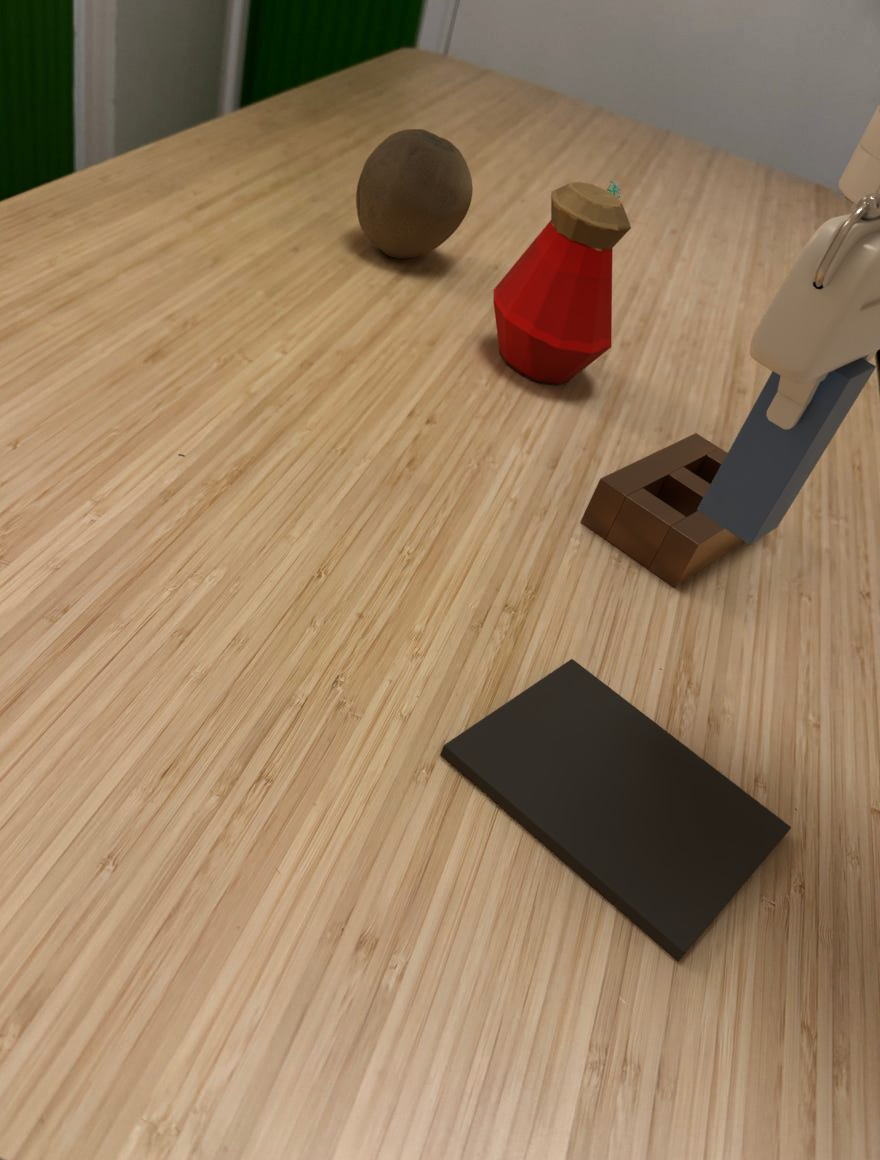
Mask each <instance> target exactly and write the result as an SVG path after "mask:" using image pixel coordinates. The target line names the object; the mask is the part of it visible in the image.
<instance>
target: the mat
mask: <svg viewBox="0 0 880 1160" xmlns="http://www.w3.org/2000/svg"><path fill="white" fill-rule="evenodd" d="M439 754H440V756H441V757H443V759H444V760H446V761H447V762H448V763H449V764H450V765H452V766H453V767H454V768H455V769H456V770H457V771H459V772H460V773H461V774H462V775H463V776H464V777H465V778H466V779H468V780H469V781H470V782H471V783H472V784H473V785H475V786H476V787H477V788H478V789H479V790H480V791H482V793H484V794H485V795H486V796H487V797H488V798H490V799H491V800H492V801H493V802H494V803H495V804H497V806H499V807H500V808H501V809H502V810H503V811H505V813H506V814H508V815H509V816H510V817H511V818H513V819H514V820H515V821H516V822H517V823H518V824H520V825H521V826H522V827H523V828H524V829H525V830H526V831H527V832H529V833H530V834H531V835H532V836H534V837H535V838H536V839H537V840H538V841H539V842H540V843H541V844H543V845H544V846H545V847H546V848H547V850H549V851H551V853H553V854H554V855H555V856H556V857H557V858H559V860H561V861H562V862H563V863H564V864H566V865H567V867H569V868H570V869H571V870H573V871H574V872H575V873H576V874H577V875H578V876H579V877H580V878H582V879H583V880H584V881H585V882H586V883H587V884H588V885H589V886H591V888H593V889H594V890H595V891H597V892H598V893H599V894H600V895H601V896H602V897H603V898H605V899H606V900H607V901H608V902H609V903H610V904H612V905H613V906H614V907H615V908H616V909H617V910H619V911H620V912H621V913H622V914H623V915H624V916H626V917H627V918H628V919H629V920H630V921H631V922H632V923H633V924H634V925H636V926H637V927H638V928H639V929H641V931H642V932H644V933H645V934H646V935H647V936H648V937H650V938H651V939H652V940H653V941H654V942H655V943H657V944H658V945H659V946H660V947H661V948H662V949H663V950H664V951H666V952H667V953H668V954H669V955H670V956H671V957H672V958H674V959H675V960H676V961H677V962H679V961H681V959H682V958H683V957H684V956H685V955H686V954H687V953H688V951H689V950H690V949H691V948H692V947H693V945H694V944H695V943H696V942H697V940H698V939H700V937H701V935H703V933H705V931H706V930H707V929H708V927H709V926H710V925H711V924H712V923H713V922H714V920H716V918H717V917H718V915H719V914H720V913H721V912H722V911H723V910H724V908H725V907H726V906H727V905H728V904H729V903H730V902H731V901H732V899H733V898H734V897H735V895H736V894H737V893H738V892H739V891H740V890H741V888H742V887H743V886H744V885H745V884H746V882H748V880H749V879H750V878H751V876H752V875H753V874H754V873H755V872H756V870H758V869H759V867H760V866H761V865H762V863H764V861H765V860H766V859H767V858H768V856H769V855H770V854H771V853H772V851H774V849H776V847H777V846H778V845H779V843H780V842H781V841H782V840H783V839H784V837H786V835H787V834H788V832H789V831H790V830H791V829H792V826H790V825H789V824H788V823H787V822H785V821H784V820H782V818H781V817H779V816H777V815H776V814H775V813H774V812H773V811H771V810H770V809H768V808H767V807H766V806H765V805H763V804H762V803H760V802H759V801H758V800H757V799H755V798H754V797H753V796H751V795H750V794H749V793H747V792H746V791H745V790H744V789H743V788H741V787H740V786H739V785H737V784H736V783H734V782H733V781H732V780H731V779H729V778H728V777H727V776H726V775H724V774H723V773H722V772H720V771H719V770H717V769H716V768H715V767H714V766H712V765H711V764H710V763H709V762H707V761H706V760H705V759H703V758H702V757H701V756H700V755H698V754H697V753H696V752H694V751H693V750H691V749H690V748H689V747H688V746H687V745H685V744H684V743H683V742H682V741H680V740H679V739H678V738H676V737H675V736H674V735H672V734H671V733H670V732H668V731H667V730H666V729H664V728H663V727H662V726H660V725H659V724H658V723H656V722H655V721H654V720H652V719H651V718H650V717H649V716H648V715H646V714H645V713H643V712H642V711H641V710H640V709H638V708H637V707H636V706H634V705H633V704H631V702H629V701H628V700H627V699H625V698H624V697H622V696H621V695H620V694H619V693H618V692H616V691H615V690H613V689H612V688H611V687H610V686H609V685H607V684H606V683H604V681H602V680H601V679H599V678H598V677H597V676H596V675H595V674H593V673H592V672H590V671H589V670H588V669H586V668H585V667H584V666H583V665H581V664H580V663H578V662H577V661H576V660H575V659H573V658H571V659H569V660H567V661H566V662H565V663H563V664H562V665H560V666H559V667H557V668H555V670H553V671H551V672H550V673H548V674H547V675H546V676H544V677H542V678H541V679H539V680H537V682H535V683H534V684H533V685H531V686H529V687H527V688H526V689H525V690H523V691H522V692H520V693H519V694H517V695H516V696H514V697H513V698H512V699H510V700H509V701H506V703H504V704H502V705H501V706H500V707H498V708H497V709H495V710H493V711H492V712H491V713H489V714H488V715H486V716H485V717H483V718H482V719H480V720H479V721H477V722H476V723H475V724H473V725H471V726H470V727H469V728H466V729H465V730H464V731H463V732H461V733H460V734H458V735H457V736H455V737H454V738H452V739H450V740H449V741H447V742H446V743H444V745H443V746H442V749H441V750H440V753H439Z"/></svg>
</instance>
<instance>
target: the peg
mask: <svg viewBox="0 0 880 1160" xmlns="http://www.w3.org/2000/svg"><path fill="white" fill-rule="evenodd" d="M876 369H877V366H876V365H875V364H873V363H871V362H868V361H866V360H864V359H862V358H860V359H857V360H855V361H853V362H851V363H849V364H846V365H844V366H842V367H840V368H838V369H836V370H833V371H831V372H829V373H828V375H827V376H826V378H825V379H824V380H823V381H820V383H819V385H818V387H817V389H816V391H815V393H814V395H813V397H812V399H811V400H812V401H814V402H813V404H812V406H811V407H810V409H809V411H808V412H807V414H806V415H805V418H804V419H803V421H802V422H801V423H799V424H798V425H796V426H794V427H792V428H791V429H787V430H785V429H782V428H781V427H779V426H777V425H776V424H774V423H773V422H771V421H769V420H768V418H767V416H766V415H767V410H768V408H769V406H770V405H771V403H772V401H773V399H774V397H775V395H776V394H777V392H778V386H779V381H780V375H779V374H777V373H775V372H773V371H772V370H771V373H770V375H769V377H768V378H767V380H766V382H765V384H764V386H763V387H762V390H761V391H760V393H759V394H758V397H757V399H756V400H755V402H754V404H753V406H752V408H751V410H750V411H749V413H748V415H747V417H746V419H745V420H744V423H743V424H742V426H741V428H740V430H739V432H738V433H737V435H736V437H735V439H734V440H733V443H732V444H731V447H730V448H729V450H728V452H727V453H728V454H727V455H726V457H725V459H724V461H723V463H722V465H721V466H720V468H719V470H718V472H717V474H716V476H715V477H714V479H713V481H712V483H711V485H710V487H709V488H708V490H707V492H706V494H705V496H704V498H703V499H702V501H701V503H700V505H699V507H698V509H697V510H698V511H699V512H701V513H702V514H704V515H705V516H707V517H708V518H710V519H711V520H713V521H714V522H716V523H717V524H719V525H720V526H722V527H723V528H725V529H726V530H728V531H729V532H731V533H732V534H734V535H735V536H737V537H738V538H740V539H741V540H743V542H744V543H746V544H747V545H749V546H751V545H753V544H754V543H756V542H757V541H759V540H761V539H762V538H763V537H765V536H767V535H769V533H771V532H773V531H774V530H776V529H777V528H778V527H779V526H780V525H781V522H782V521H783V520H784V518H785V516H786V514H787V513H788V511H789V509H790V508H791V507H792V504H793V503H794V501H795V500H796V498H797V497H798V495H799V493H800V492H801V490H802V488H803V487H804V485H805V483H806V482H807V480H808V479H809V477H810V475H811V474H812V473H813V471H814V469H815V468H816V466H817V464H818V462H819V461H820V459H821V457H822V456H823V454H824V453H825V451H826V450H827V448H828V447H829V445H830V443H831V441H832V440H833V438H834V436H836V434H837V431H838V430H839V429H840V427H841V425H842V423H843V422H844V420H845V419H846V417H847V415H848V414H849V412H850V411H851V409H852V407H853V406H854V404H855V402H856V401H857V399H858V397H859V396H860V394H861V393H862V391H863V389H864V388H865V386H866V385H867V383H868V381H869V380H870V378H871V376H872V375H873V373H874V372H875V370H876Z"/></svg>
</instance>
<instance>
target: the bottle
mask: <svg viewBox="0 0 880 1160" xmlns="http://www.w3.org/2000/svg"><path fill="white" fill-rule="evenodd" d="M550 196H551V197H550V203H551V204H550V220H549V222H548V223H547V224H546V225H545V226H544V227H543V229H542V230H541V231H540V232H539V234H538V235H537V236H536V237H535V238H534V240H533V241H532V242H531V243H530V245H529V246H528V247H527V248H526V249H525V251H524V252H523V253H522V255H521V256H520V257H519V258H518V260H516V262H515V263H514V264H513V265H512V266H511V268H510V269H509V270H508V271H507V272H506V274H505V275H503V278H502V279H501V280H500V281H499V282H498V283H497V284H496V286H494V287H495V288H493V298H492V299H493V309H494V318H495V326H496V327H495V328H496V334H497V343H498V351H499V356H500V357H501V359H502V360H503V362H504V363H505V365H506V366H508V367H509V368H511V369H512V370H513V371H515V372H516V373H517V374H519V375H520V376H522V377H524V378H526V379H528V380H531V381H533V382H535V383H537V384H542V385H548V386H549V385H550V386H555V387H556V386H559V385H563V384H565V383H568V382H570V381H571V380H572V379H573V378H575V377H576V376H577V375H578V374H580V373H581V372H582V371H584V370H585V369H586V368H587V367H588V366H590V365H591V364H592V363H593V362H595V361H596V360H597V359H599V358H600V357H601V356H602V355H604V354H605V353H606V352H607V351H609V350H610V349H612V331H613V328H612V327H613V324H612V323H613V321H612V319H613V315H612V314H613V249H614V247H615V246H616V245H617V244H618V243H619V242H620V241H621V240H622V239H623V238H624V236H626V234H627V233H628V232H629V231H630V230H631V229H632V226H631V223H630V220H629V217H628V215H627V212H626V210H625V207H624V204H623V202H622V200H621V199H620V198H619V197H618V198H619V199H618V198H617V196H616V194H615V195H613V194H612V193H610V192H609V191H607V189H605V188H603V187H600V186H598V185H595V184H593V183H589V182H585V183H584V181H573V182H569V183H567V184H565V185H562V186H561V187H558V188H556V189H554V190H552V191H550Z"/></svg>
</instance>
